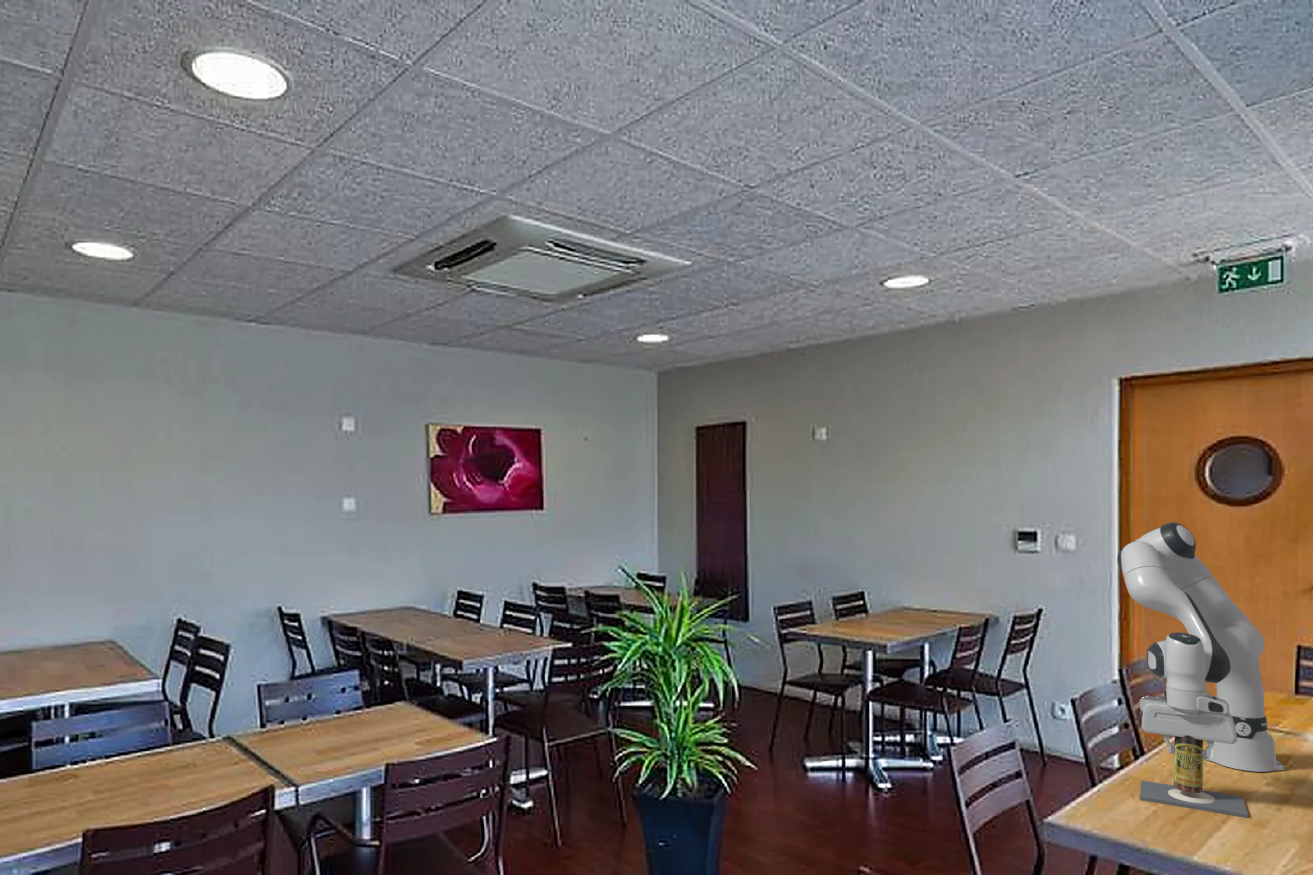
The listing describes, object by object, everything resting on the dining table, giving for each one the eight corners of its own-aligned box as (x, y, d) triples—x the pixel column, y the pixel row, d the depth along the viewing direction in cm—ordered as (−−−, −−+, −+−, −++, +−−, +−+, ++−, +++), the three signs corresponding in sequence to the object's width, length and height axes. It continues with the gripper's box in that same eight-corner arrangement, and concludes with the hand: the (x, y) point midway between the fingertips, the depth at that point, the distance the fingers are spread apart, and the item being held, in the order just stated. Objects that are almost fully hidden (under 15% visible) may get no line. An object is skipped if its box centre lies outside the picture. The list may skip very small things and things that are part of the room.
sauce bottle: (1174, 791, 207) (1171, 710, 208) (1173, 784, 212) (1170, 705, 214) (1205, 796, 203) (1202, 713, 205) (1203, 789, 209) (1200, 708, 211)
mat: (1141, 783, 219) (1140, 779, 219) (1242, 799, 207) (1242, 795, 207) (1140, 799, 207) (1139, 795, 207) (1247, 817, 195) (1247, 813, 195)
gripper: (1138, 696, 212) (1140, 752, 211) (1236, 707, 201) (1238, 766, 200) (1139, 691, 217) (1141, 745, 216) (1234, 702, 206) (1236, 759, 205)
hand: (1188, 755), depth 208 cm, fingers closed on sauce bottle, 6 cm apart
